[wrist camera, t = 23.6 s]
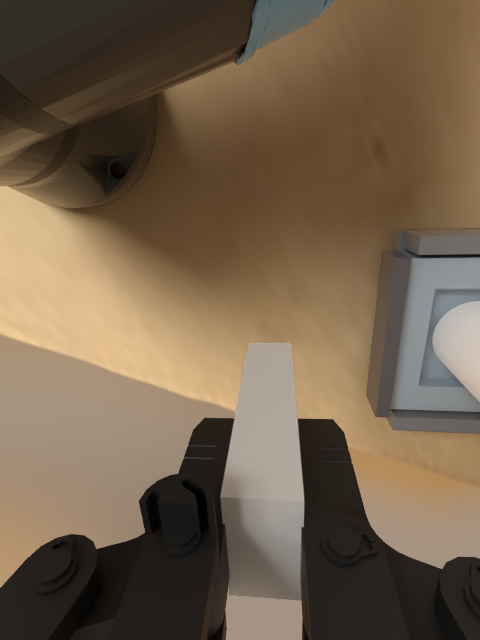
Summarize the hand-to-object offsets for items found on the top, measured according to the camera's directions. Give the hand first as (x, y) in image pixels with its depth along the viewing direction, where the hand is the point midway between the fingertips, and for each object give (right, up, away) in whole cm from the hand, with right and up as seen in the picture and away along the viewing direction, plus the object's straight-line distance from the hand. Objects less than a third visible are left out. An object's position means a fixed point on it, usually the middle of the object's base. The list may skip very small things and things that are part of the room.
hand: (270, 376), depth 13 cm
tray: (+19, +1, +19) cm, 27 cm away
